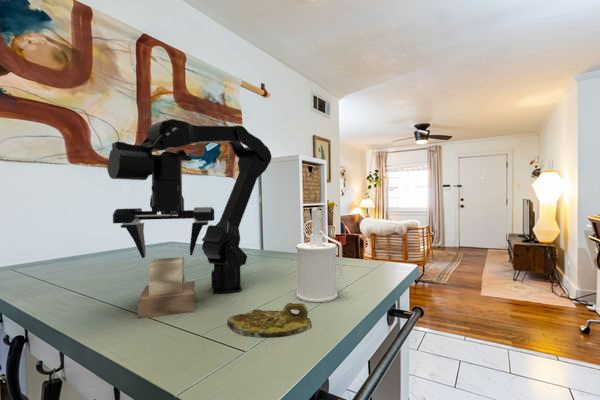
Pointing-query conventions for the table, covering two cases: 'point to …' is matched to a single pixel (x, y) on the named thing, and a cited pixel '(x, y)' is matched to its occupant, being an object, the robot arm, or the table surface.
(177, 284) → the maple cube
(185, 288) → the walnut block
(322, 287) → the white cylinder with spout
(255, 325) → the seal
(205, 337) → the table surface
